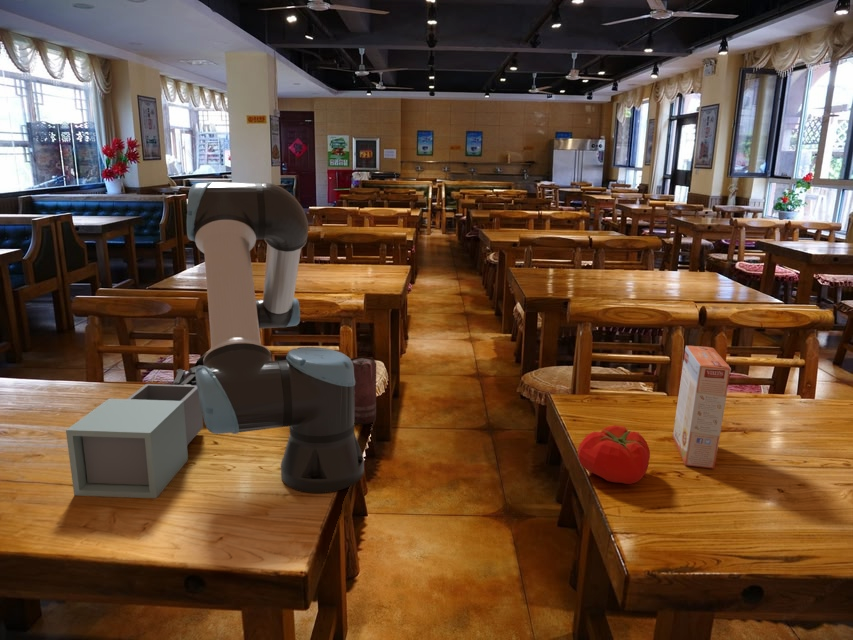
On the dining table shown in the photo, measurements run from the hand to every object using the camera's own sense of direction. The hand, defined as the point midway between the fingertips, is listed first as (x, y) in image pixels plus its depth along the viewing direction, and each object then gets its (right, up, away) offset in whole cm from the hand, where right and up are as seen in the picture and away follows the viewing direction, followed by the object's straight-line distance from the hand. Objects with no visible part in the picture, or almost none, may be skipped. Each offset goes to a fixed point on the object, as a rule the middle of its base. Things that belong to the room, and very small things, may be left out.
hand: (176, 401), depth 132 cm
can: (+38, -5, +9) cm, 39 cm away
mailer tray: (0, -8, -11) cm, 14 cm away
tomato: (+87, -13, -13) cm, 89 cm away
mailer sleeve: (-1, -11, -18) cm, 21 cm away
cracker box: (+107, -10, -2) cm, 107 cm away
